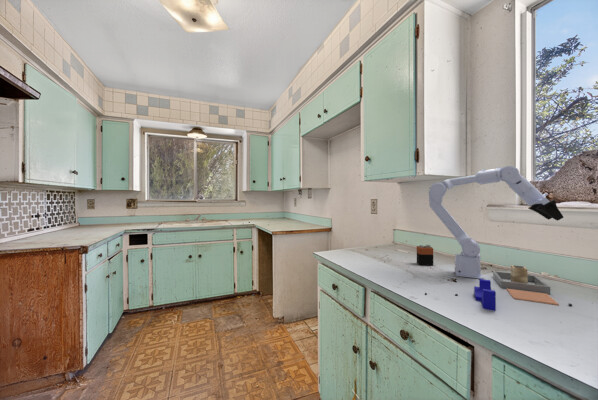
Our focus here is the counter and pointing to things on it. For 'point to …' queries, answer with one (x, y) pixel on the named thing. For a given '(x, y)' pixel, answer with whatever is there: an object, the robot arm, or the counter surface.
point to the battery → (425, 255)
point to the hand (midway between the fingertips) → (555, 218)
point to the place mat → (532, 296)
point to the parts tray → (539, 288)
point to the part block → (519, 274)
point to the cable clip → (485, 294)
